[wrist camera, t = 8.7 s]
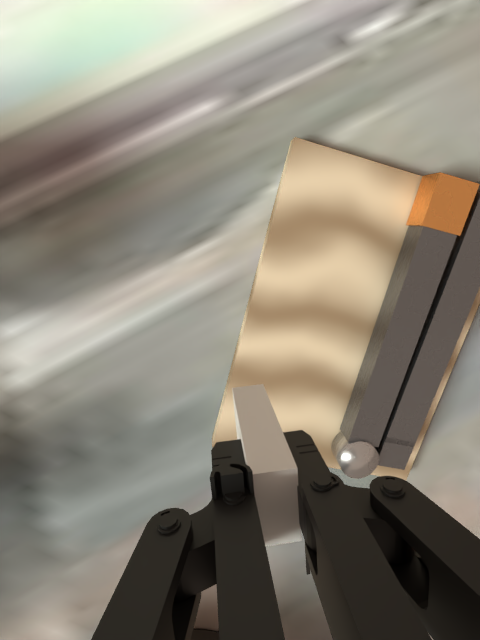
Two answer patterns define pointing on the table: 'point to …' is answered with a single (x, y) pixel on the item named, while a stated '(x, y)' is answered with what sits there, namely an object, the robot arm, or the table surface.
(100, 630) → the robot arm
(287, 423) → the serving board
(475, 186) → the bar
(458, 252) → the bar
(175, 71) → the table surface
